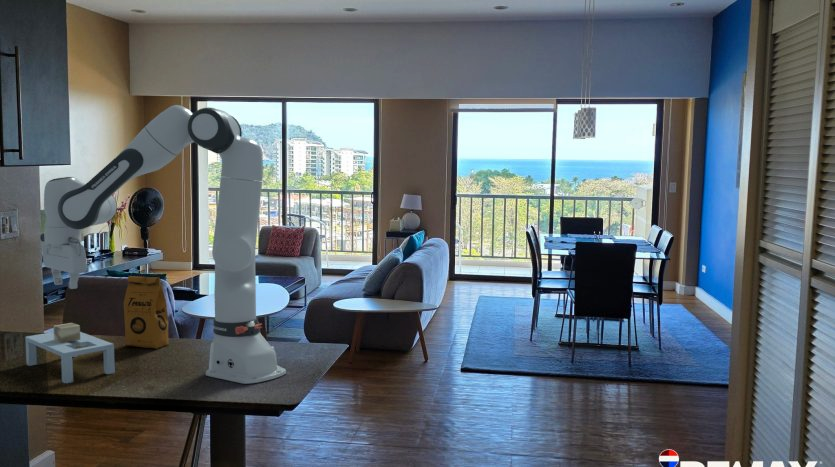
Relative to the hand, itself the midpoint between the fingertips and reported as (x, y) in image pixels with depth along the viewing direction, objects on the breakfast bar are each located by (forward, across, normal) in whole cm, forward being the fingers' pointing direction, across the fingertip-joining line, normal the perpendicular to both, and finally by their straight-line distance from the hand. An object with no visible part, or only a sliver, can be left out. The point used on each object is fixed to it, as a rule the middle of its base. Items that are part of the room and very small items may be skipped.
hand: (65, 286), depth 193 cm
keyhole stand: (+23, -1, 0) cm, 23 cm away
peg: (+19, 0, 0) cm, 19 cm away
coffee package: (+23, +7, -27) cm, 36 cm away
